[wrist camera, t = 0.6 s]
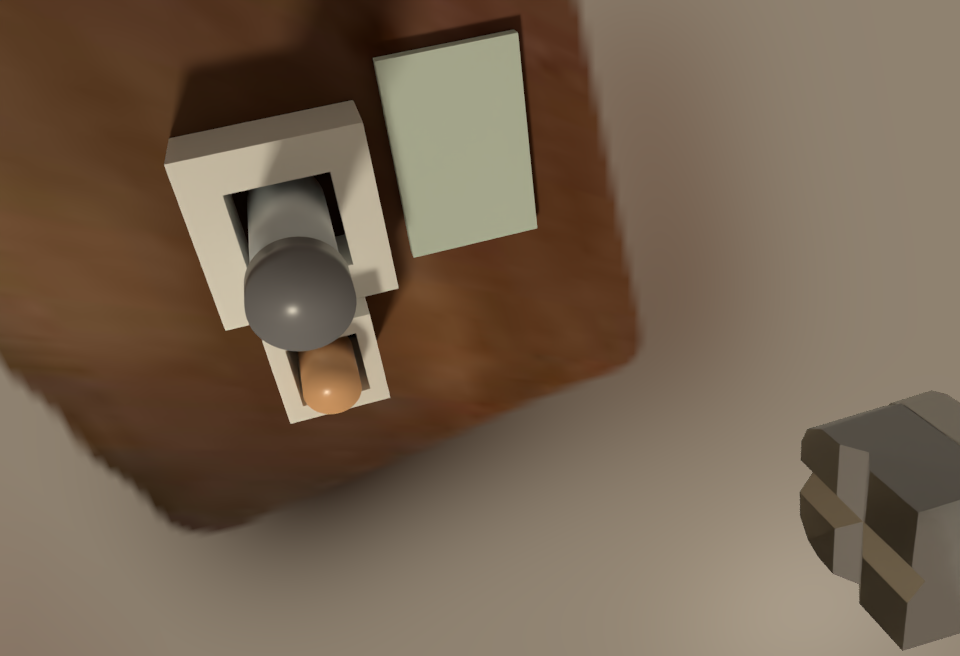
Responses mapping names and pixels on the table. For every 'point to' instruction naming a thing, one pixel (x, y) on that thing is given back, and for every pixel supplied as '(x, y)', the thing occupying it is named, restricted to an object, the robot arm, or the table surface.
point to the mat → (459, 140)
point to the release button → (330, 377)
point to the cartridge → (295, 268)
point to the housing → (275, 159)
